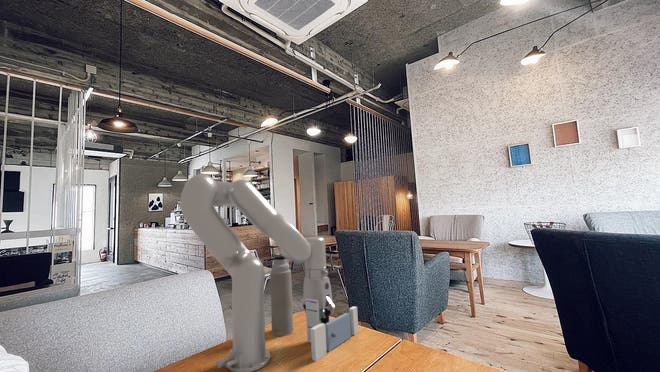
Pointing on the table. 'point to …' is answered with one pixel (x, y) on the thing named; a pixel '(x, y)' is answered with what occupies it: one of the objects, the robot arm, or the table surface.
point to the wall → (320, 335)
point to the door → (338, 330)
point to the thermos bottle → (281, 297)
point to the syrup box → (312, 315)
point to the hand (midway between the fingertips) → (318, 326)
